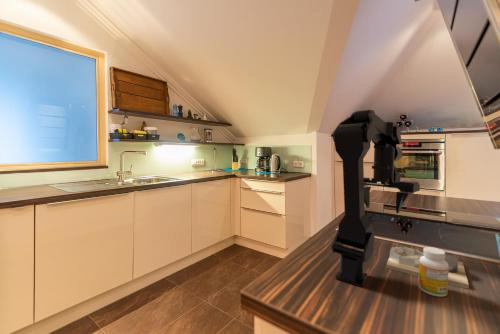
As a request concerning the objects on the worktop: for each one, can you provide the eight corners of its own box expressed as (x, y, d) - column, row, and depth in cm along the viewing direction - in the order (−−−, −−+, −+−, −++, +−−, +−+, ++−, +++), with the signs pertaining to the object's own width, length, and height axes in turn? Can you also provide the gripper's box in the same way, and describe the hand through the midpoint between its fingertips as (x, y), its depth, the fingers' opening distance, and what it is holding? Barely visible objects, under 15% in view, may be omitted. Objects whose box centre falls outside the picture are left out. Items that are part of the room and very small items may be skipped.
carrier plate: (468, 289, 56) (468, 284, 56) (386, 267, 66) (386, 264, 66) (462, 265, 67) (462, 262, 67) (392, 250, 77) (392, 247, 77)
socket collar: (425, 269, 63) (426, 262, 62) (388, 261, 68) (388, 254, 68) (426, 258, 69) (426, 251, 69) (392, 250, 75) (392, 244, 75)
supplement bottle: (419, 281, 59) (420, 243, 58) (447, 289, 56) (449, 249, 55) (417, 291, 55) (419, 251, 54) (447, 300, 52) (449, 257, 51)
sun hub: (458, 274, 60) (459, 263, 60) (433, 269, 63) (434, 258, 63) (456, 267, 64) (457, 256, 64) (433, 261, 67) (434, 251, 67)
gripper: (426, 162, 73) (424, 212, 74) (367, 161, 88) (365, 202, 89) (413, 163, 66) (411, 218, 67) (351, 161, 81) (350, 206, 82)
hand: (382, 210), depth 77 cm, fingers open, 9 cm apart
